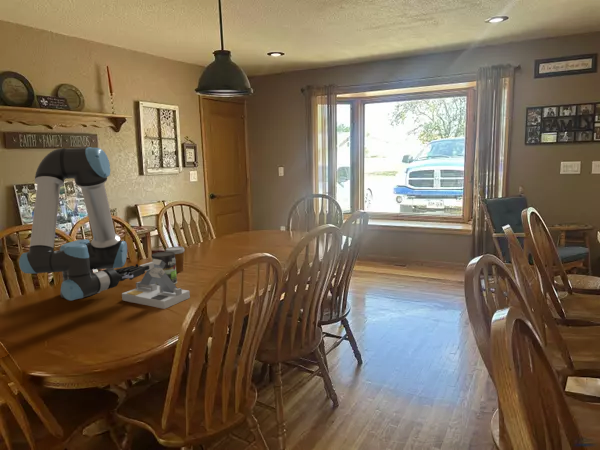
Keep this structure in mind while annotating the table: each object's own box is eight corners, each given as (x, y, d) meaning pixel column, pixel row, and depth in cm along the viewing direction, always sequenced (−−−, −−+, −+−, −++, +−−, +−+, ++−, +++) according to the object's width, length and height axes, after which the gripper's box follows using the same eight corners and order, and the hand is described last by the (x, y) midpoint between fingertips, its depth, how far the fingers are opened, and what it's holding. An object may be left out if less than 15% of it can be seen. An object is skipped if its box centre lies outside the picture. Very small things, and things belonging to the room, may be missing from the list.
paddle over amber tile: (137, 284, 183) (151, 258, 190) (141, 288, 186) (155, 262, 192) (148, 286, 180) (163, 260, 186) (153, 290, 182) (167, 263, 188)
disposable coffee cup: (163, 273, 219) (160, 249, 217) (175, 268, 227) (173, 245, 225) (178, 274, 215) (176, 250, 213) (190, 269, 224) (188, 246, 222)
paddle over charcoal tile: (163, 292, 178) (146, 272, 170) (167, 287, 180) (151, 266, 172) (175, 294, 175) (159, 274, 166) (179, 289, 176) (163, 268, 168)
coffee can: (181, 280, 205) (178, 251, 202) (170, 287, 195) (168, 256, 192) (161, 279, 207) (158, 251, 204) (149, 286, 197) (147, 256, 195)
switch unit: (122, 300, 179) (121, 287, 178) (148, 290, 191) (147, 278, 190) (164, 308, 168) (163, 295, 167) (190, 297, 180) (189, 285, 179)
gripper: (94, 287, 169) (143, 272, 189) (116, 291, 162) (164, 275, 183) (92, 268, 168) (141, 255, 188) (114, 272, 161) (162, 257, 182)
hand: (152, 265), depth 185 cm, fingers closed
